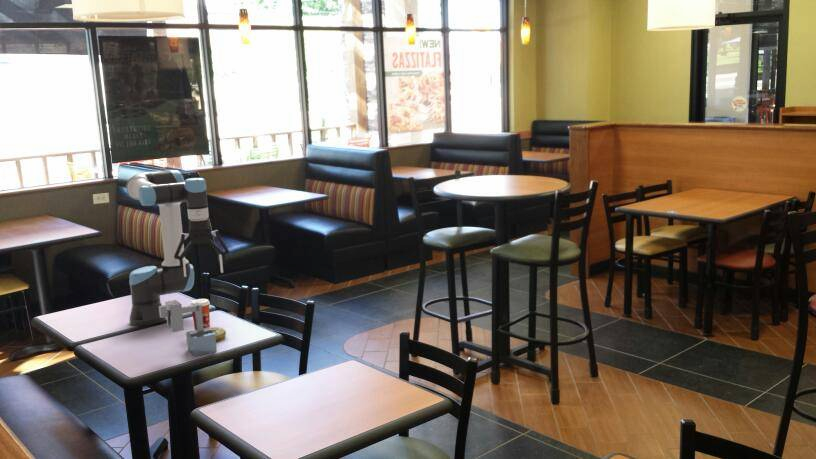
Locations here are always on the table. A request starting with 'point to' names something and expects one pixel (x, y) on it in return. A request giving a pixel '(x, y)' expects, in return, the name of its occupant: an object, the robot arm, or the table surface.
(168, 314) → the hook
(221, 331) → the decorated donut
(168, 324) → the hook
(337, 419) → the table surface
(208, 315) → the paper cup
